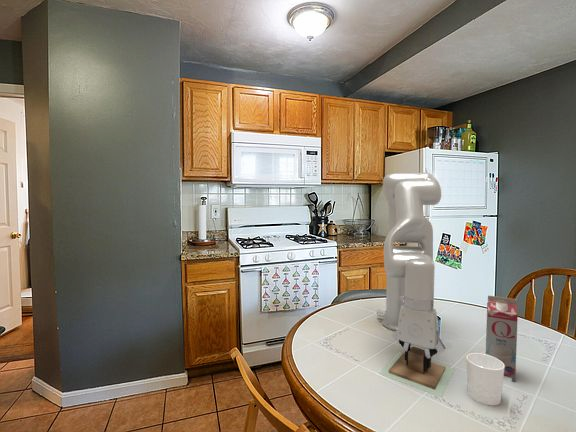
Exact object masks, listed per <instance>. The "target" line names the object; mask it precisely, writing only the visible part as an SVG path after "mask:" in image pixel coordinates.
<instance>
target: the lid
mask: <svg viewBox="0 0 576 432" xmlns="http://www.w3.org/2000/svg"><path fill="white" fill-rule="evenodd" d="M402 353H403V354H402V355H401V356H400V357H399V359H398V360H397V361H396V362H395V363H394V364H393V366H392V367H391V368H390V369H389V373H391V374H393V375H396V376H399V377H402V378H404V379H407V380H410V381H413V382H415V383H418V384H421V385H423V386H426V387H429V388H432V389H434V390H435V388H436V387H437V385H438V383H439V381H440V379H441V377H442V375H443V373H444V371H445V368H446V367H445V366H446V365H443V364H440V363H437V364H436V362H434V361H431V367H430V368H428V370H427V371H426V372H425V371H424V357H425V349H423V348H421V347H420V348H419V347H418V346H417V347H416V346H411V349H410V350H409V351H408V366H407V365H406V360H405V354H404V353H405V352H402ZM433 362H434V363H433ZM439 364H440V365H439ZM442 365H443V366H442Z"/></svg>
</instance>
